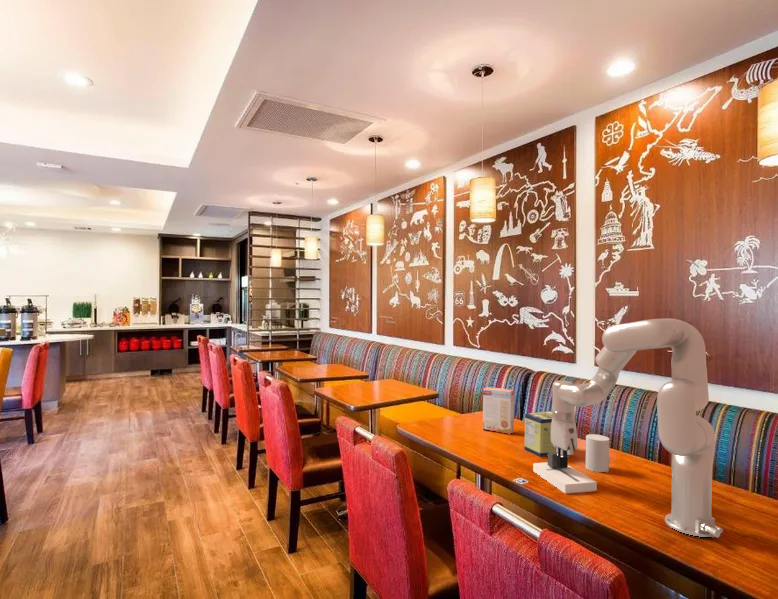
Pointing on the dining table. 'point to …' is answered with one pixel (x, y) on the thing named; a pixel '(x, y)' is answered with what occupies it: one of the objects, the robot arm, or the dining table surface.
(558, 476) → the fader console
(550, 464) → the fader knob
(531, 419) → the protein box
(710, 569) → the dining table surface
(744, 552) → the dining table surface
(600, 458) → the white cylinder
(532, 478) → the dining table surface
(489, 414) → the cracker box
